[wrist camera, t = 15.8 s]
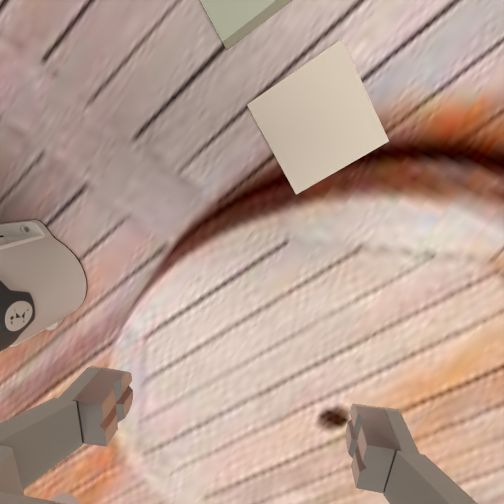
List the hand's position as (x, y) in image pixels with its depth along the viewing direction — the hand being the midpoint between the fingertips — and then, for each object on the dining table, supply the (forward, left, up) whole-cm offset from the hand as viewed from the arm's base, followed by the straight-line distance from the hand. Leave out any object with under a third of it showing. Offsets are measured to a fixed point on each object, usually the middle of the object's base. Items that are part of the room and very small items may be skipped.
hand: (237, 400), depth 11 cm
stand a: (+4, +13, -31) cm, 34 cm away
